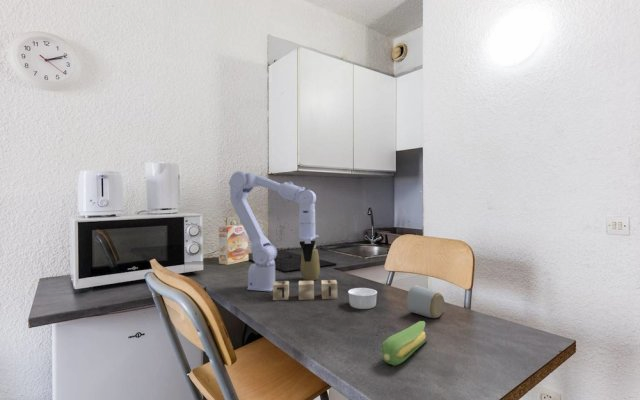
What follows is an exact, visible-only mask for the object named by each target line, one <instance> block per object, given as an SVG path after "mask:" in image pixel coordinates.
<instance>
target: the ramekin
mask: <svg viewBox="0 0 640 400" xmlns="http://www.w3.org/2000/svg"><path fill="white" fill-rule="evenodd" d="M347 294H348V300H349V306H350V307H352V308H354V309H359V310H368V309H373V308H374V307H376V305H377V295H378V291H377V290H375V289H373V288H367V287H354V288H351V289H349V290H348V291H347Z"/></svg>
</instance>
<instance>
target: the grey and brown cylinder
mask: <svg viewBox="0 0 640 400" xmlns="http://www.w3.org/2000/svg"><path fill="white" fill-rule="evenodd" d="M406 294H407V295H406V301H405V303H406V309H407V310H408V311H409V312H410V313H414V314H416V315H420V316H424V317H426V318H430V319H438V318H439V317H440V316H442V314H443V312H444V311H445V298H444V296H443V294H441V293H440V292H438V291H436V290H433V289H429V288H427V287H424V286H421V285H417V284H416V285H413V286H411V287H410V288H409V290H408V292H407V293H406Z"/></svg>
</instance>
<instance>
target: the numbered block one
mask: <svg viewBox="0 0 640 400" xmlns="http://www.w3.org/2000/svg"><path fill="white" fill-rule="evenodd" d="M320 283H321V299H322V300H326V299H327V300H332V299H333V300H334V299H338V281H337V279H321V282H320Z"/></svg>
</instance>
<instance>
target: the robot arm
mask: <svg viewBox="0 0 640 400" xmlns="http://www.w3.org/2000/svg"><path fill="white" fill-rule="evenodd" d="M228 185H229V190H230V191H229V192H230V194H229V196H230V202H231V204H232V207H233V208H234V211H235V212H236V215H237V217H238V218H239V220H240V222H241V223H240V224H242V225H243V227H244V229H245V231H246V233H247V235H248V240H249V241H250V243H251V244H250V250H251V253H252V260H253V263H251V264H250V266H249V267H248V271H247V288H246V289H247V290H249V291H261V292H273V283H274V281H276V262H275V259H276V257H277V256H278V249H277V248H276V247H275V246H274V245H273V244H272V242H270V240H269V239H268V237H266V236H265V234H264V233H263V230H262V229H261V227H260V224H259V222H258V221H257V219H256V216H255V215H254V212H253V211H252V208H251V207H250V204H249V203H248V201H247V198H248V196H249V194H250V192H252V190H253V189H254V187H262V188H266V189H268V190H271V191H274V192H278V194H279V195H280V196H279V197H281V198H284V199H286V200H289V201H291V202H295V203H298V205H299V206H298V207H299V211H298V215H299V217H298V219H299V220H298V221H299V224H298V225H299V231H298V232H299V235H298V238H299V239H301V240H303V241H301V240H300V241H299V245H300V247H301V251H302V250H303V255H304V260H305V262H311V258H312V251H313V248H314V245H315V244H316V240H314V239H316V238H320V236H319V235H318V234H316V201H317V195H316V193H315V192H314V191H312V190H311V189H306V187H304V186H298V185H295V184H294V182H292V181H288V182H287V181H285V182H283V183H280V182H277V181H275V180H273V179H269V178H267V177H265V176H264V175H263V176H262V175H258V174H254V173H248V172H243V171H239V170H237V171H234V173H233V174H231V176H230V177H229V181H228ZM311 239H312V241H311Z"/></svg>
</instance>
